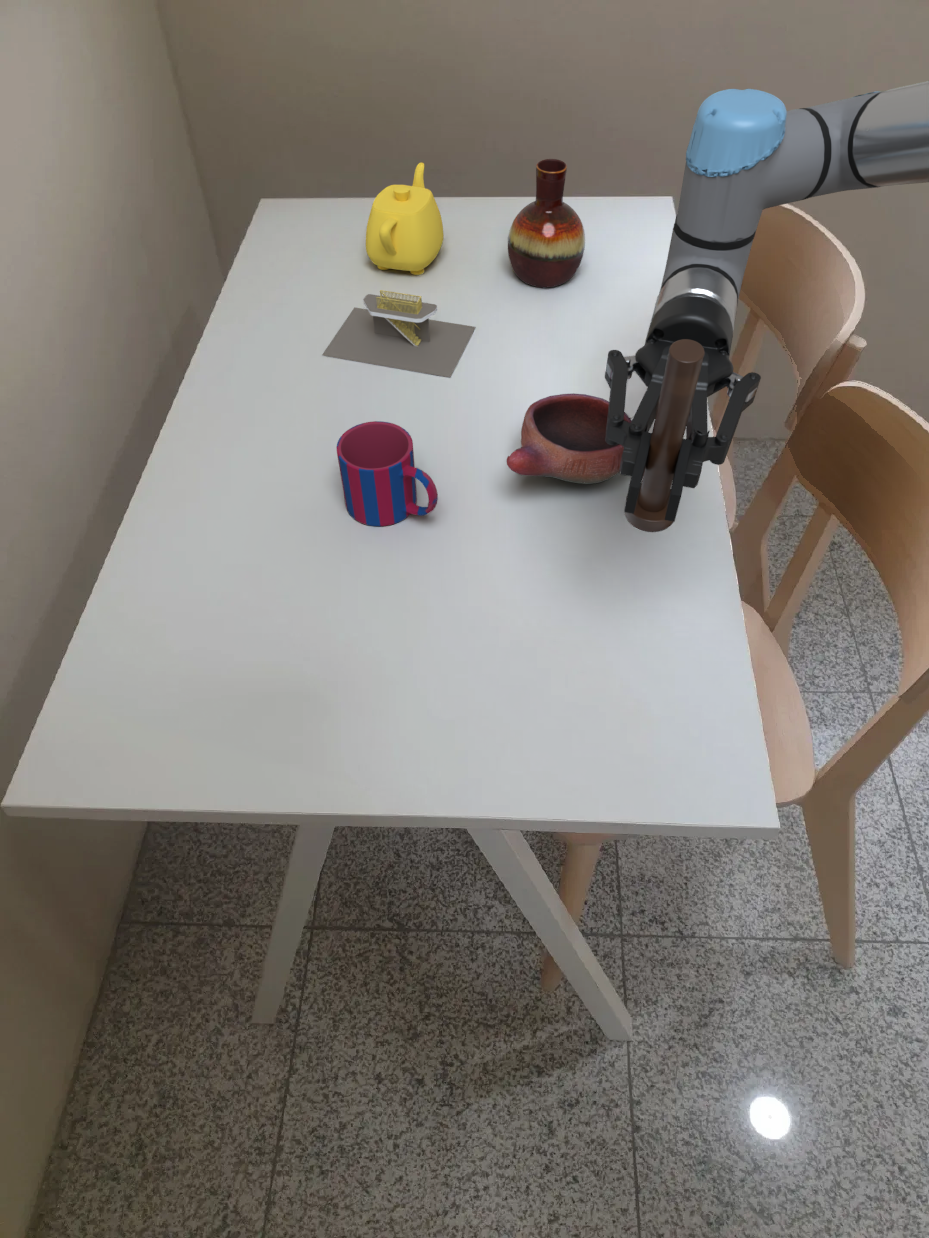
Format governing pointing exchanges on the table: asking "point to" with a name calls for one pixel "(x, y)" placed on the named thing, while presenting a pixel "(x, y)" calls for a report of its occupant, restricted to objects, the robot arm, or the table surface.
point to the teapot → (404, 227)
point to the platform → (400, 336)
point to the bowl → (567, 440)
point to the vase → (547, 232)
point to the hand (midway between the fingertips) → (652, 503)
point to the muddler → (667, 435)
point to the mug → (381, 474)
